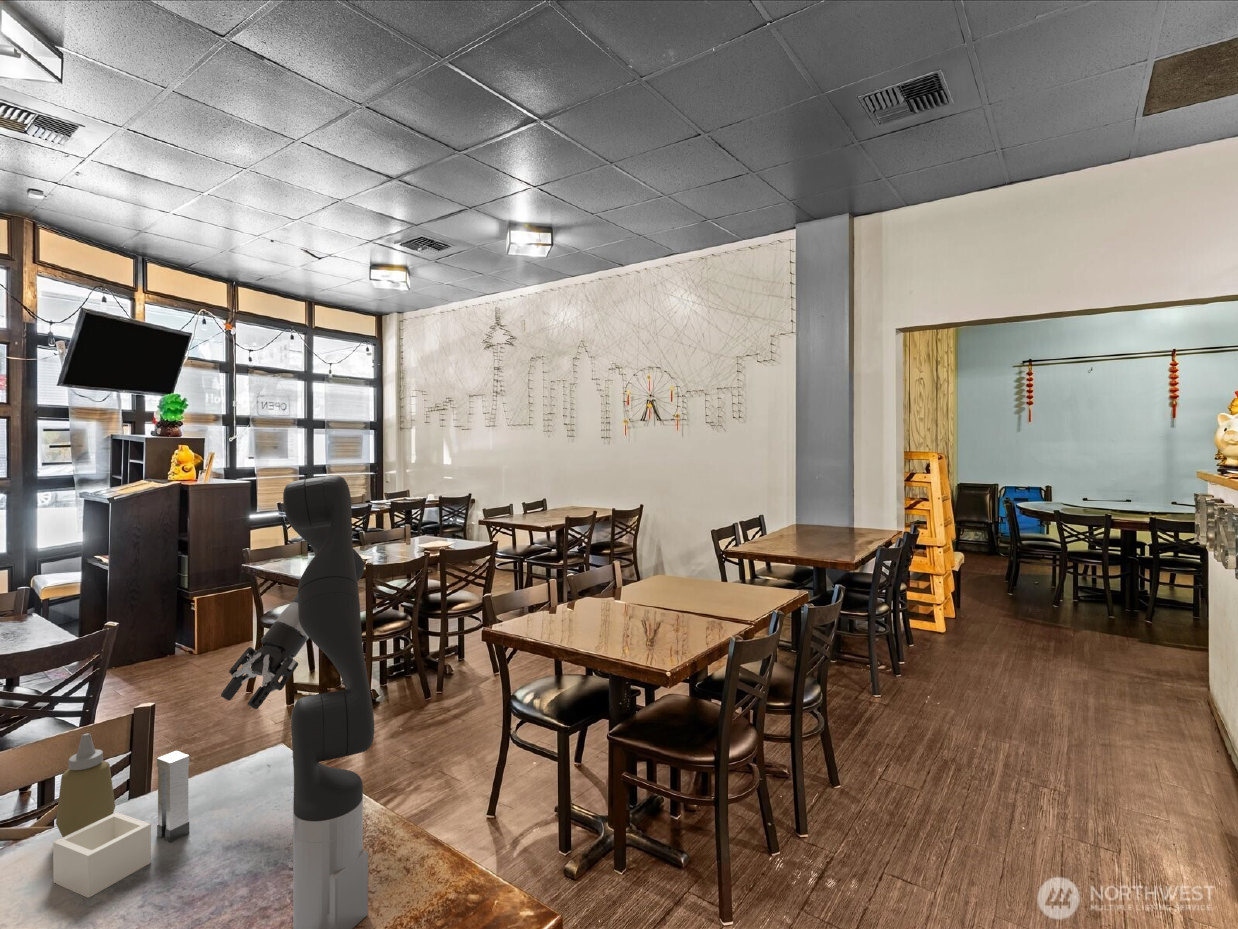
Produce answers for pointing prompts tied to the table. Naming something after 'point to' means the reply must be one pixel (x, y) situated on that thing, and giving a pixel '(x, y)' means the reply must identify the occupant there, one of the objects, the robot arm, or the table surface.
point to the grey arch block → (172, 796)
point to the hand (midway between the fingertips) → (238, 702)
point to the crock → (101, 854)
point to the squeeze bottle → (85, 789)
